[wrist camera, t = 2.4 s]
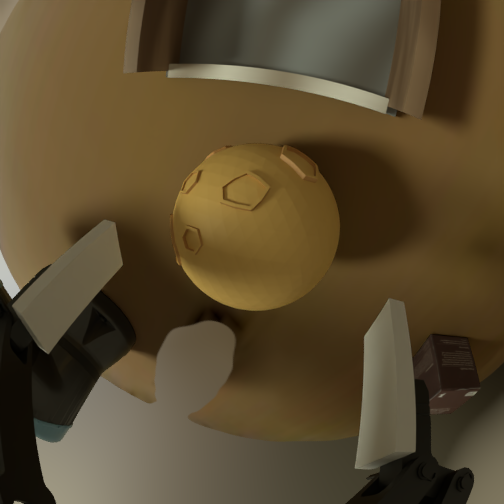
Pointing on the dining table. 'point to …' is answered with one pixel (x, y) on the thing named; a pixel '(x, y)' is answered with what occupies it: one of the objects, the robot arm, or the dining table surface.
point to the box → (446, 372)
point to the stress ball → (255, 226)
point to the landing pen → (294, 46)
